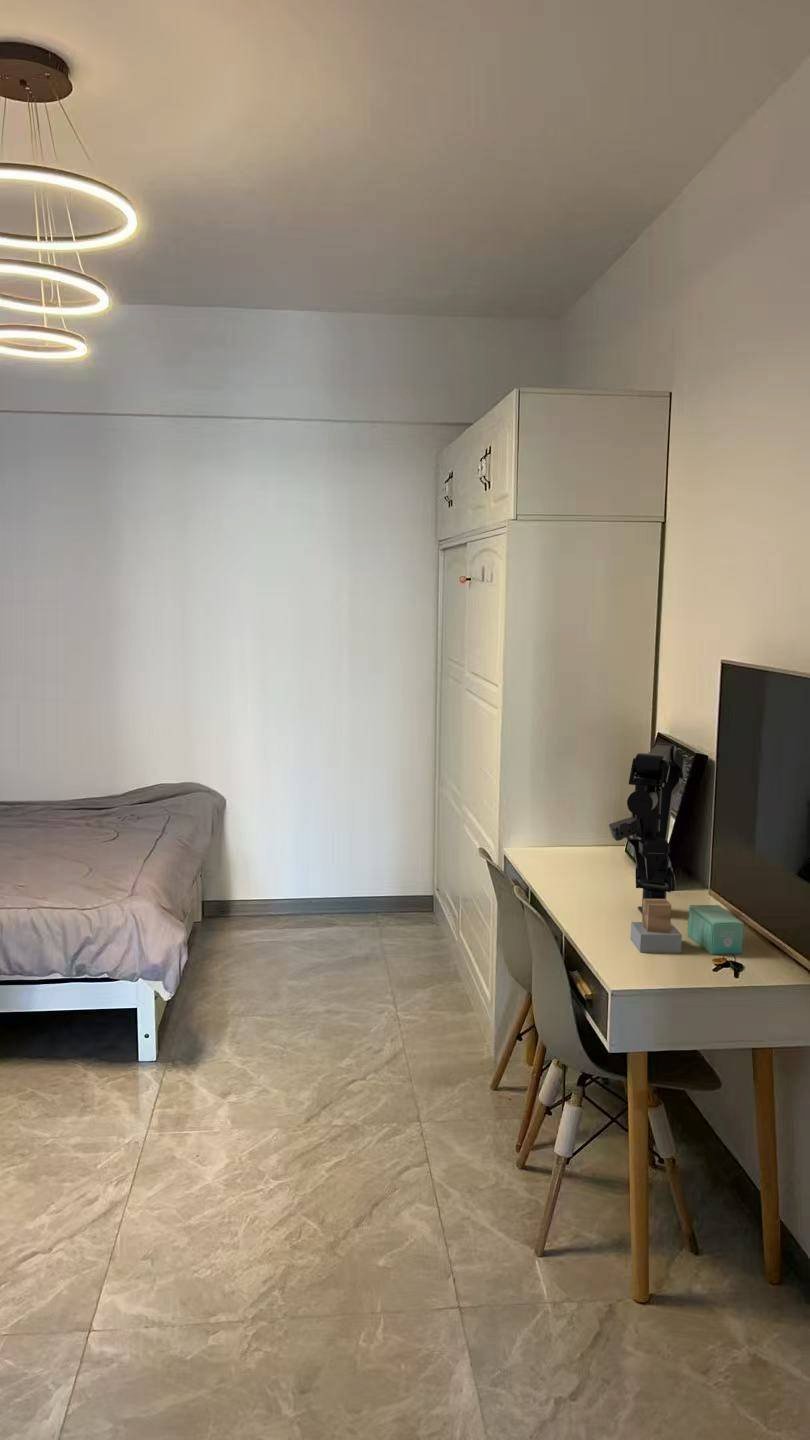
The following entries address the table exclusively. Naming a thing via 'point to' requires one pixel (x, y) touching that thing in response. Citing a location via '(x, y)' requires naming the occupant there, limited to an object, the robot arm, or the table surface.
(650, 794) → the robot arm
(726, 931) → the box
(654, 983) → the table surface
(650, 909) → the block
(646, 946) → the base
